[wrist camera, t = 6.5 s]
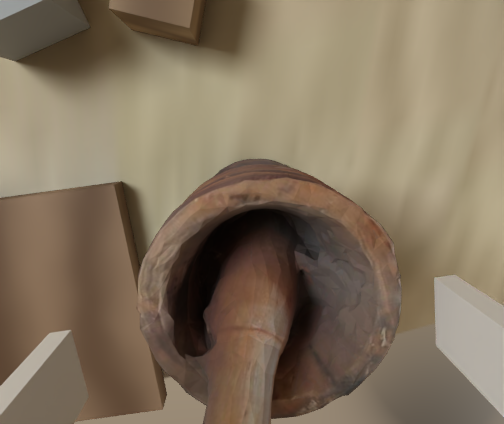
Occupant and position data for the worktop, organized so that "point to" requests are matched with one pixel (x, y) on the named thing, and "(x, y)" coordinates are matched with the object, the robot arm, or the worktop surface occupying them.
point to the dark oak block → (163, 17)
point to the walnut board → (77, 293)
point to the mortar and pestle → (268, 294)
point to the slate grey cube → (37, 25)
